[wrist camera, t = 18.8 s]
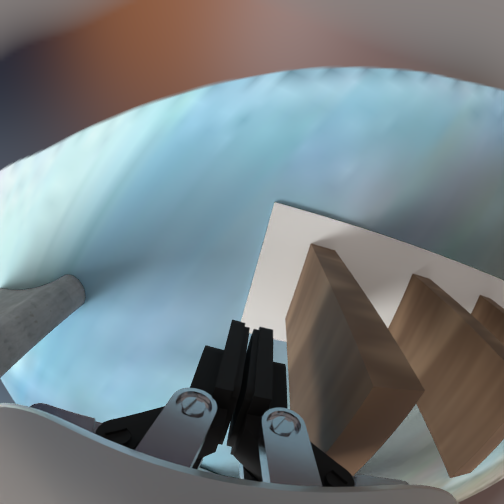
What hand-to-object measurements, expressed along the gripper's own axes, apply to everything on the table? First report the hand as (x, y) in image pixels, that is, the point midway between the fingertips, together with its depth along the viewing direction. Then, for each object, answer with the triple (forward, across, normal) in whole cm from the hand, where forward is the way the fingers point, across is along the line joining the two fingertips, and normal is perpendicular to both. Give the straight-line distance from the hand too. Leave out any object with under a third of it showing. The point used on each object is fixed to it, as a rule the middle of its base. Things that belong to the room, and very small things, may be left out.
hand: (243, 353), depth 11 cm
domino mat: (+10, -21, 0) cm, 23 cm away
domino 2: (+10, -12, 0) cm, 16 cm away
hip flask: (+10, +21, +10) cm, 26 cm away
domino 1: (+10, -4, 0) cm, 10 cm away
